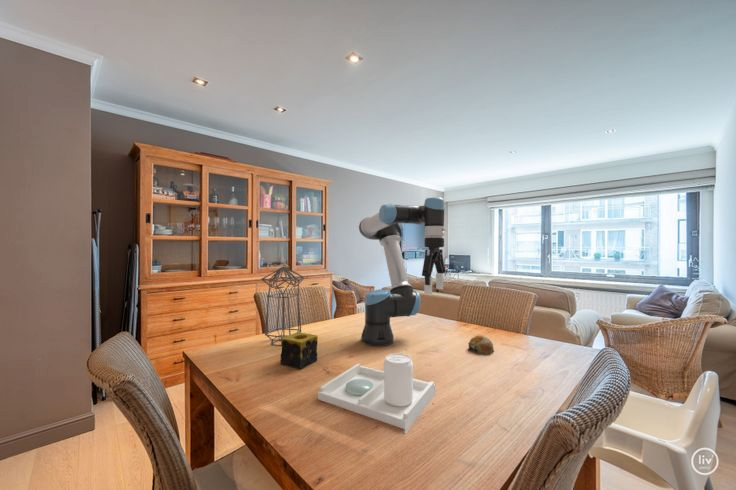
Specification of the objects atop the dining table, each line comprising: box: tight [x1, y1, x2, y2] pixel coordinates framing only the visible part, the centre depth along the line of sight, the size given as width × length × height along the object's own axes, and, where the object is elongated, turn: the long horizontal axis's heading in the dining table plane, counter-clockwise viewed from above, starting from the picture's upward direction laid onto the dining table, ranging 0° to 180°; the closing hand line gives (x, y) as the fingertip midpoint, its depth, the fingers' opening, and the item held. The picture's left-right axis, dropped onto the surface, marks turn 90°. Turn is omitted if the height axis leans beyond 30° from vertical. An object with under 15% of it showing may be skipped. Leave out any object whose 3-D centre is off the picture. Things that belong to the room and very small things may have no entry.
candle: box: [279, 331, 319, 370], centre depth 115 cm, size 10×10×10 cm
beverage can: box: [383, 353, 414, 406], centre depth 85 cm, size 8×8×12 cm
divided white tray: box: [317, 363, 436, 435], centre depth 88 cm, size 27×22×4 cm
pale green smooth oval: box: [346, 379, 373, 396], centre depth 92 cm, size 8×8×1 cm
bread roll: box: [467, 334, 495, 355], centre depth 129 cm, size 10×10×8 cm
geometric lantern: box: [260, 266, 306, 347], centre depth 139 cm, size 16×16×35 cm
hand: (434, 291), depth 119 cm, fingers open, 13 cm apart
